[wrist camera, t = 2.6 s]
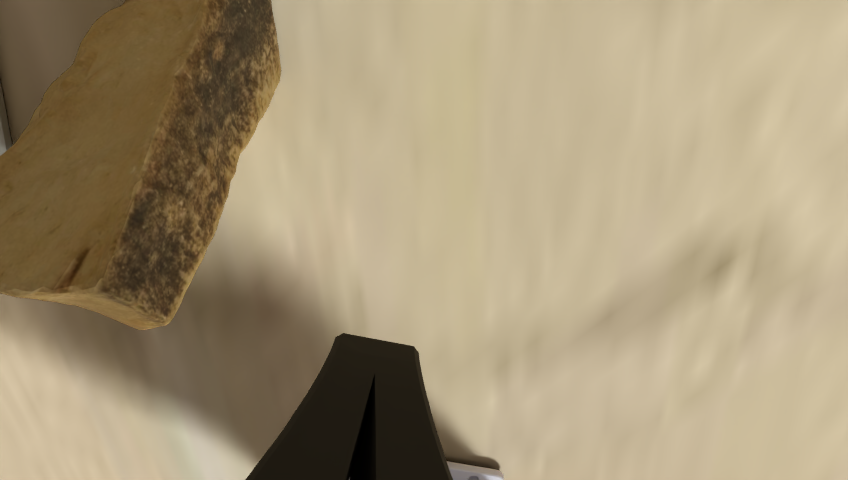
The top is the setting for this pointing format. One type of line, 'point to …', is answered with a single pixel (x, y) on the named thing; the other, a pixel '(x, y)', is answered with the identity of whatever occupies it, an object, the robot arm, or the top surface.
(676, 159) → the top surface
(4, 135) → the mat
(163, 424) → the top surface
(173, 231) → the rock
